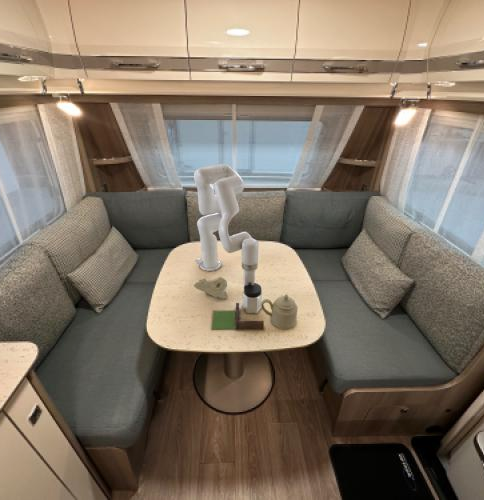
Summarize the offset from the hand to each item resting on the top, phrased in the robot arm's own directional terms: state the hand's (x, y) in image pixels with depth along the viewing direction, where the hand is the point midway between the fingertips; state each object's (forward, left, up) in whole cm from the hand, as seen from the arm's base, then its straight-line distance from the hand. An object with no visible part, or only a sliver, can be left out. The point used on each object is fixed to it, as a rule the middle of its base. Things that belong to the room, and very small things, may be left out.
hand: (248, 294), depth 133 cm
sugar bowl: (+13, -16, -2) cm, 21 cm away
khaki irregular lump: (-19, +2, -2) cm, 19 cm away
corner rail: (0, -15, -2) cm, 15 cm away
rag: (-12, -15, -2) cm, 19 cm away
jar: (+1, -7, -2) cm, 7 cm away
